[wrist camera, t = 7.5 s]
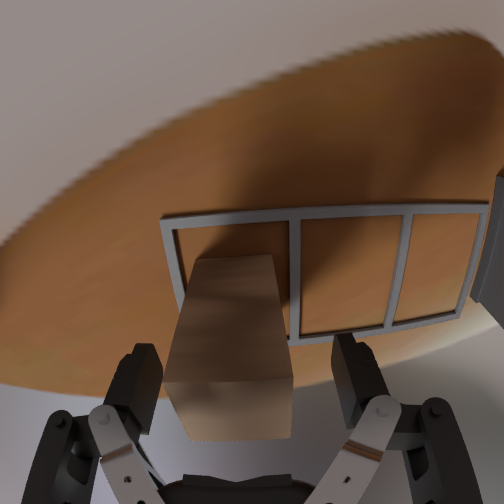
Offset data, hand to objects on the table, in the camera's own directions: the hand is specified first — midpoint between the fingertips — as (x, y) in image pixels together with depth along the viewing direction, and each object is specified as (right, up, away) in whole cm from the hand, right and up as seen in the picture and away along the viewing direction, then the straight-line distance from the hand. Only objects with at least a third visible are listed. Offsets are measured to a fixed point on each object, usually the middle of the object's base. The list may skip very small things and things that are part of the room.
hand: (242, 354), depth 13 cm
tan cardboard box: (0, +2, +6) cm, 6 cm away
